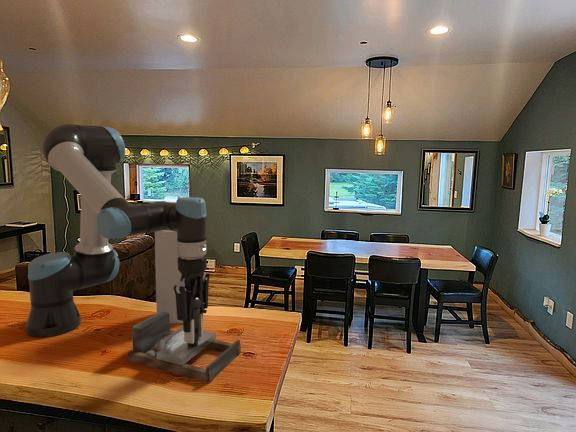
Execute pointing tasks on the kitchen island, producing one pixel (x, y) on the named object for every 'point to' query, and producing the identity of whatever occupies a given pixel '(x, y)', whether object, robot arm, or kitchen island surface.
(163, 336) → the stone
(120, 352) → the kitchen island surface
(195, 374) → the grey rectangular frame
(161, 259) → the vase
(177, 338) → the ram
